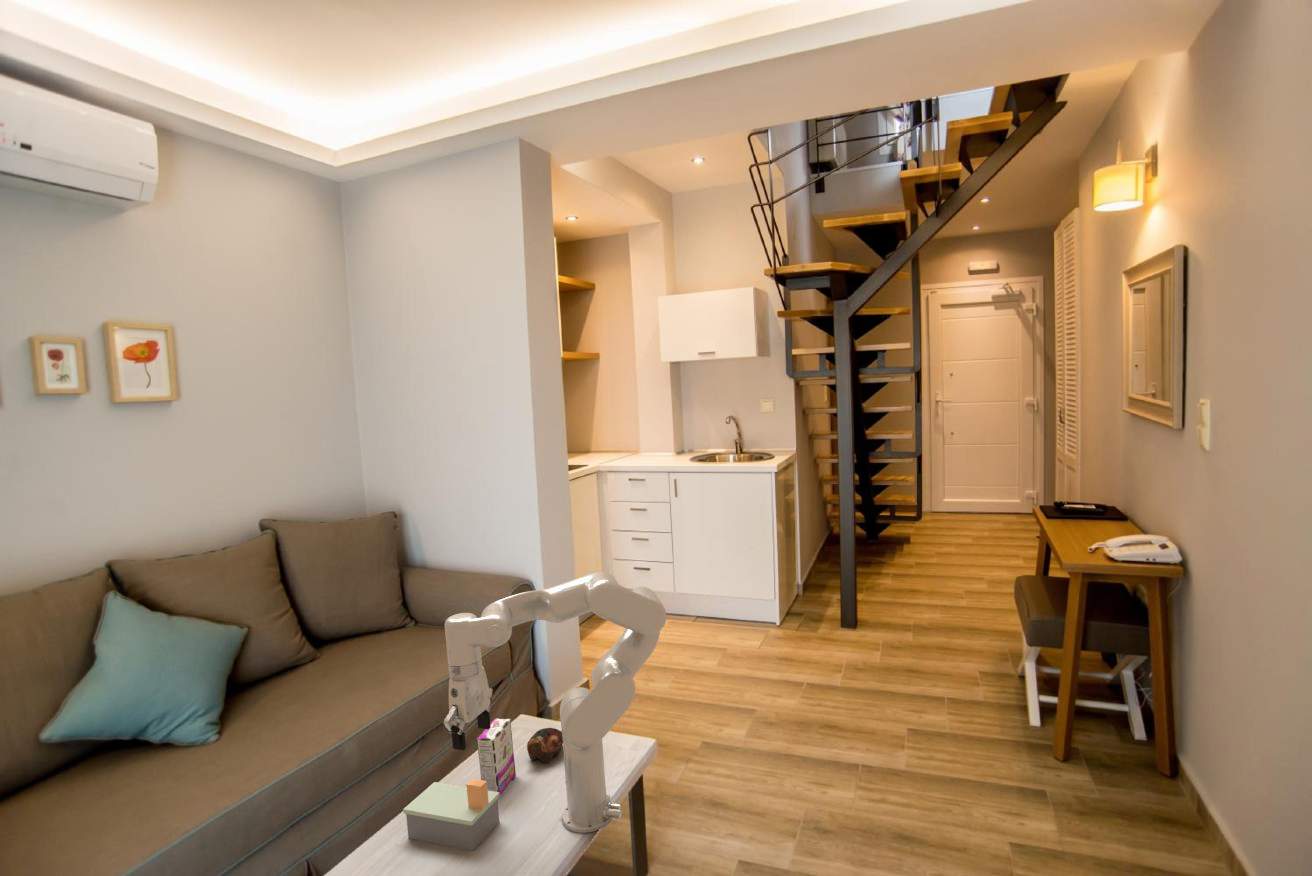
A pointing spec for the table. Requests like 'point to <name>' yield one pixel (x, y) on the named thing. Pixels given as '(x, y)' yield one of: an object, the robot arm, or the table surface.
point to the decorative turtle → (545, 744)
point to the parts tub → (453, 829)
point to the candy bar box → (497, 755)
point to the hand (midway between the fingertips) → (472, 738)
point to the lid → (453, 802)
